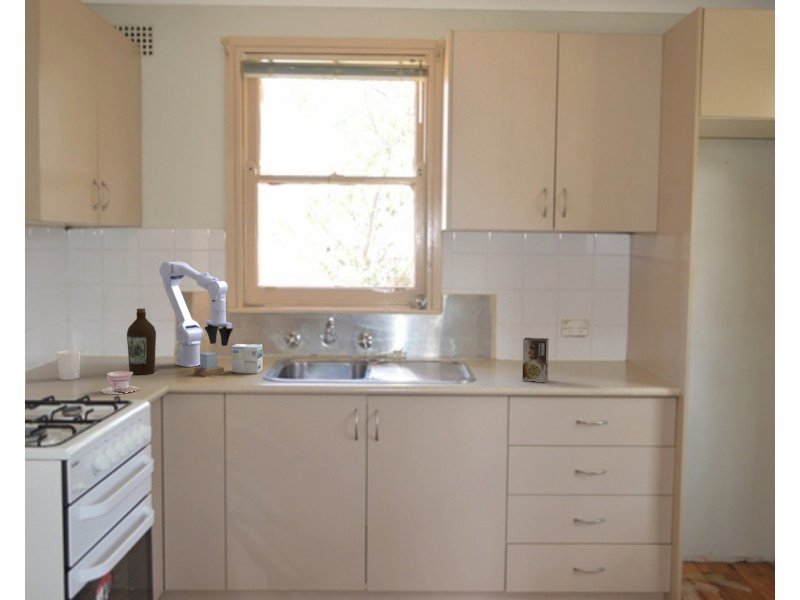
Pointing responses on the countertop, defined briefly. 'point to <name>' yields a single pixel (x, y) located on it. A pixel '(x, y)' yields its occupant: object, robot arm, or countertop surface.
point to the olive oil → (141, 345)
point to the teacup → (119, 382)
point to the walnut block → (208, 371)
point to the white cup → (69, 364)
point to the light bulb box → (247, 358)
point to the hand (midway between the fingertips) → (218, 344)
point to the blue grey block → (208, 360)
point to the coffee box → (535, 359)
